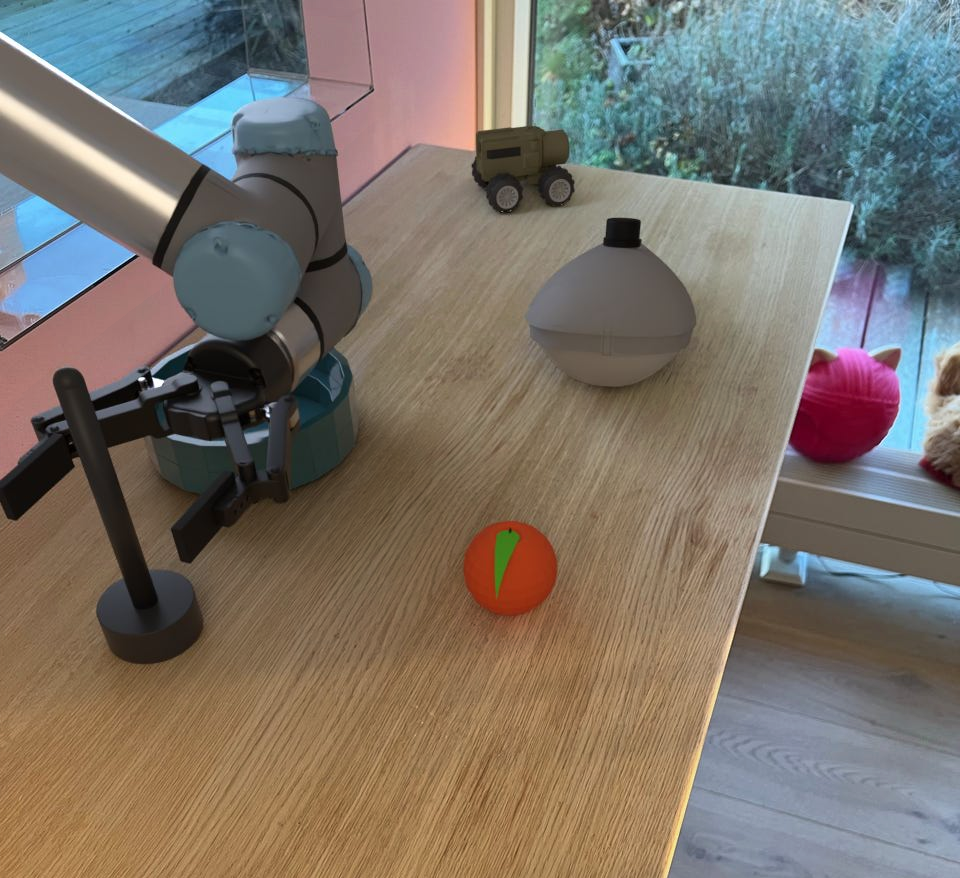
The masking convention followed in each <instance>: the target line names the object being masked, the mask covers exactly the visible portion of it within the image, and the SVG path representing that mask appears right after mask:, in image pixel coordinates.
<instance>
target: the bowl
mask: <svg viewBox="0 0 960 878" xmlns="http://www.w3.org/2000/svg"><path fill="white" fill-rule="evenodd" d="M197 343H198V342H195V343H192V344H189V345H187V346H184V347H183V348H181V349H179V350H177V351H175V352H173V353H171V354H170V355H169V354H168V355H167V356H166V357H163V358H162V359H161V360H160V361H159V362H157V363H156V365H154V366H153V367H152V368H150V371H151V374H152V377H153V378H157V379H160V380H164V381H165V380H166V379H168V378H170V377H173V376H175V375H177V374H179V373H181V372H182V370H183V368H184V365H185V363H186V360H187V357H188V355H189V352H190V351H191V349H192V348H193V347H194V346H195V345H196V344H197ZM291 394H292V395H294V396H296V400H297V405H298V412H299V417H300V423H301V428H300V429H299V431H298V433H297V434H296V436H295V437H294V439H293V440H292V459H291V483H290V490H293V489H295V488H298V487H300V486H303V485H306V484H308V483H311V482H313V481H316V480H318V479H319V478H321V477H322V476H323V475H325V474H326V473H328V472H330V471H331V470H333V469H334V468H336V467H337V466H339V465H340V464H341V463H342V462H343V461H344V459H345V458H346V457H347V456H348V454H349V453H350V451H352V449H353V448H354V447H355V445H356V442H357V438H358V433H359V428H360V419H359V413H358V404H357V397H356V388H355V382H354V374H353V372H352V369H351V366H350V363H349V360H348V359H347V358H346V357H345V356H344V355H343V354H342V353H341V352H339V350H338V349H336V348H335V346H334V347H333V349H332V350H331V351H330V352H329V353H328V354H327V355H326V356H325V357H324V358H323V359H322V360H321V361H320V362H319V364H318V365H317V366H315V368H314V369H313V370H312V371H311V372H310V373H309V374H308V376H307V377H306V378H305V379H304V380H303V381H302V382H301V383H300V384H299V385H298V386H297V387H296V388H295V390H294V391H293V392H292V393H291ZM155 410H156V413H157V417H158V420H159V423H162V422H166V419H165V415H164V411H163V404H162V401H161V402H158V403H156V404H155ZM243 433H244V436H245V439H246V442H247V444H248V447H249V450H250V453H251V456H252V459H253V458H254V463H255V467H256V471H261V470H266V465H267V451H268V437H269V427H268V424H267V421H266V422H264V423H263V424H261V425H259V426H256V427H251V428H248V429H245V430H243ZM143 440H144V443H145V446H146V450H147V453H148V456H149V460H150V462H151V464H152V465H153V466H154V468H155V469H156V470H157V472H158V473H159V474H160V476H161V478H162V479H164V480H166V481H167V482H169V483H170V484H172V485H174V486H175V487H178V488H179V489H181V490H184V491H186V492H189V493H194V494H199V495H201V494H202V493H203V492H204V491H205V490H206V489H207V488H208V487H209V486H210V485H211V483H212V482H213V481H214V480H215V479H216V478H217V477H218V476H219V475H220V474H221V472H222V471H223V470H227V471H232V472H234V475H235V479H237V476H236V473H235V470H234V467H233V463H232V460H231V457H230V454H229V453H228V449H227V446H226V443H225V440H224V438H219V439H212V440H211V441H206V440H201V439H199V438H197V437H195V436H182V435H177V434H173V435H170V436H167V437H164V438H160V439H156V438H154V437H152V436H146V437H143Z"/></svg>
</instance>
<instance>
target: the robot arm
mask: <svg viewBox="0 0 960 878" xmlns="http://www.w3.org/2000/svg"><path fill="white" fill-rule="evenodd" d="M230 131H231V138H232V148H231V153H232V155H233V156H234V159H235V162H236V168H237V169H236V170H235V172H234V173H233V175H232V177H231V178H230V179H229V178H227V177H226V176H224V175H223V174H220V173H219V172H217V171H216V170H214V169H213V168H211V167H209V166H208V165H206V164H205V163H203V162H202V161H199V160H197V159H196V158H194V157H193V156H191V155H190V154H188V153H187V152H185V151H184V150H182V149H181V148H180V147H178V146H176V145H175V144H173V143H171V142H170V141H168V140H167V139H165V138H163V137H162V136H160V135H159V134H158V133H156V132H155V131H153V130H151V129H150V128H148V127H147V126H146V125H144V124H143V123H141V122H139V121H137V120H136V118H133V117H131V115H128V114H127V113H126V112H124V111H122V110H121V109H119V108H118V107H116V106H114V105H113V104H112V103H110V102H108V101H107V100H105V99H104V98H103V97H101V96H99V95H98V94H96V93H95V92H93V91H92V90H90V89H89V88H87V87H86V86H84V85H83V84H81V83H80V82H78V81H77V80H75V79H73V78H71V77H70V76H69V75H67V74H66V73H64V72H63V71H61V70H60V69H58V68H57V67H55V66H53V65H51V64H50V63H48V61H46V60H44V59H43V58H41V57H39V56H38V55H36V54H35V53H33V52H32V51H31V50H29V49H28V48H26V47H24V46H23V45H21V44H20V43H18V42H16V41H15V40H14V39H12V38H10V37H9V36H8V35H6V34H4V33H2V31H0V175H2V176H4V177H6V178H7V179H9V180H11V181H12V182H14V183H16V184H17V185H18V186H21V188H24V189H26V190H27V191H29V192H31V193H32V194H34V195H35V196H37V197H39V198H40V199H42V200H44V201H46V202H47V203H49V204H51V205H52V206H54V207H56V208H57V209H59V210H61V211H62V212H64V213H65V214H68V215H69V216H71V217H73V218H74V219H76V220H77V221H79V222H80V223H82V224H84V225H85V226H88V227H89V228H91V229H92V230H94V231H96V232H97V233H99V234H101V235H103V236H104V237H106V238H108V239H110V240H111V241H113V242H114V243H116V244H117V245H120V246H121V247H123V248H124V249H126V250H127V251H129V252H131V253H132V254H134V255H136V256H138V258H139V257H140V258H141V259H143V260H144V261H146V262H148V263H150V264H151V265H153V266H154V267H156V268H157V269H159V270H161V271H162V272H164V273H166V274H167V275H168V276H170V277H172V283H173V290H174V293H175V296H176V300H177V302H178V304H179V305H180V307H181V308H182V309H183V310H184V312H185V313H186V314H187V315H188V316H189V317H190V319H191V321H192V322H193V323H194V325H196V326H197V327H199V329H201V330H203V331H204V332H206V334H205V335H204V336H203V337H202V338H201V339H200V340H199V341H198V342H196V343H197V344H196V345H195V346H194V347H193V348H192V349H191V351H190V352H189V355H188V357H187V360H186V363H185V365H184V368H183V370H182V372H181V373H179V374H177V375H175V376H173V377H170V378H168V379H166V380H165V381H164V380H160V379H157V378H153V377H152V374H151V371H150V370H151V368H150V367H149V366H147V365H142V366H138V367H135V368H134V369H133V370H131V371H130V372H129V373H127V374H126V375H124V376H123V377H122V378H120V379H118V380H116V381H113V382H111V383H109V384H105V385H103V386H101V387H99V388H97V389H94V390H92V391H88V392H89V395H90V398H91V401H92V404H93V407H94V409H95V412H96V415H97V418H98V421H99V424H100V427H101V430H102V433H103V436H104V439H105V442H106V445H107V448H108V449H111V448H113V447H116V446H120V445H123V444H126V443H130V442H133V441H137V440H140V439H144V437H146V436H152V437H154V438H156V439H160V438H164V437H167V436H170V435H173V434H177V435H182V436H195V437H197V438H199V439H201V440H206V441H211V440H212V439H219V438H224V440H225V443H226V446H227V449H228V453H229V454H230V457H231V460H232V463H233V467H234V470H235V473H236V476H237V479H235V475H234V472H232V471H227V470H223V471H222V472H221V474H220V475H219V476H218V477H217V478H216V479H215V480H214V481H213V482H212V483H211V485H210V486H209V487H208V488H207V489H206V490H205V491H204V492H203V493H202V494H200V495H199V496H198V497H197V498H196V500H194V502H193V503H192V504H191V505H190V506H189V507H188V509H187V510H186V511H185V512H184V513H183V514H182V515H181V516H180V517H179V518H178V520H177V521H176V522H175V523H174V524H173V525H172V526H171V527H170V528H169V529H170V532H171V536H172V538H173V542H174V546H175V548H176V552H177V555H178V558H179V562H181V563H185V564H189V565H191V564H192V563H193V562H194V561H195V560H196V558H197V557H198V556H200V554H201V552H202V551H203V550H204V549H205V548H206V547H207V546H208V544H209V543H210V542H211V541H212V540H213V538H214V537H215V536H217V534H218V533H219V532H220V530H221V529H222V528H223V527H224V528H230V527H232V526H234V525H235V524H236V523H237V522H238V521H239V520H240V519H241V517H242V516H243V515H244V514H245V513H246V512H247V510H248V509H249V508H250V507H251V506H252V505H254V504H258V503H260V502H261V501H262V499H271V500H272V502H273V503H274V504H277V505H279V504H280V505H281V504H285V503H287V502H288V501H290V499H291V489H290V483H291V459H292V440H293V439H294V437H295V436H296V434H297V433H298V431H299V429H300V428H301V423H300V417H299V412H298V405H297V400H296V396H294V395H292V394H291V393H292V392H293V391H294V390H295V388H296V387H297V386H298V385H299V384H300V383H301V382H302V381H303V380H304V379H305V378H306V377H307V376H308V374H309V373H310V372H311V371H312V370H313V369H314V368H315V366H317V365H318V364H319V362H320V361H321V360H322V359H323V358H324V357H325V356H326V355H327V354H328V353H329V352H330V351H331V350H332V349H333V347H334V348H335V347H336V345H338V344H339V343H340V342H341V341H342V339H343V338H345V337H347V336H348V335H349V334H350V333H351V332H352V331H354V329H355V327H356V326H357V323H358V322H359V320H360V318H361V317H362V316H363V314H364V313H365V312H366V310H367V308H368V307H369V305H370V303H371V300H372V296H373V289H374V288H373V278H372V274H371V271H370V269H369V268H368V266H367V265H366V263H365V262H364V259H363V257H362V255H361V254H360V252H359V251H358V250H357V249H356V248H354V246H352V245H351V244H349V243H348V242H347V239H346V231H345V221H344V213H343V203H342V195H341V186H340V175H339V168H338V159H337V157H339V150H338V149H336V143H335V138H334V137H335V136H334V132H333V128H332V122H331V118H330V115H329V112H328V111H327V110H326V108H325V107H324V106H322V105H321V104H320V103H318V102H316V101H314V100H312V99H308V98H305V97H296V96H277V97H268V98H263V99H262V98H261V99H259V100H254V101H251V102H249V103H246V104H244V105H243V106H241V107H239V108H238V109H237V110H236V111H235V112H234V114H233V115H232V117H231V120H230ZM161 401H162V404H163V411H164V415H165V419H166V422H162V423H159V420H158V417H157V413H156V410H155V404H156V403H158V402H161ZM266 421H267V424H268V427H269V437H268V451H267V465H266V470H261V471H256V467H255V463H254V458H253V459H252V456H251V453H250V450H249V447H248V444H247V442H246V439H245V436H244V433H243V430H245V429H248V428H251V427H256V426H259V425H261V424H263V423H264V422H266ZM30 424H31V425H32V428H33V431H34V434H35V436H36V438H37V441H38V442H37V443H36V444H34V445H33V446H32V447H31V448H30V449H29V450H28V451H26V452H25V453H24V454H23V455H22V456H21V457H19V459H18V460H17V465H16V466H15V467H14V468H12V469H11V470H10V471H9V472H8V473H7V474H5V475H4V477H2V478H1V479H0V505H1V508H2V510H3V512H4V514H5V517H6V519H7V520H10V521H15V522H18V520H19V519H20V518H22V517H23V516H24V515H25V514H26V513H27V512H28V511H29V510H31V508H33V506H35V505H36V504H37V503H38V502H39V501H40V500H41V499H42V498H43V497H44V496H45V495H47V494H48V493H49V492H50V491H51V490H52V489H53V488H54V487H55V486H56V485H57V484H59V482H60V481H61V480H63V479H64V478H65V477H66V476H67V475H68V474H69V473H70V472H71V471H72V470H73V469H74V468H76V466H75V463H74V459H77V458H80V457H79V455H78V452H77V449H76V446H75V444H74V441H73V438H72V435H71V432H70V430H69V427H68V424H67V421H66V419H65V416H64V413H63V410H62V408H61V405H60V404H59V405H56V406H54V407H52V408H50V409H47V410H45V411H42V412H39V413H37V414H36V415H34V416H32V417H31V418H30Z"/></svg>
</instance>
